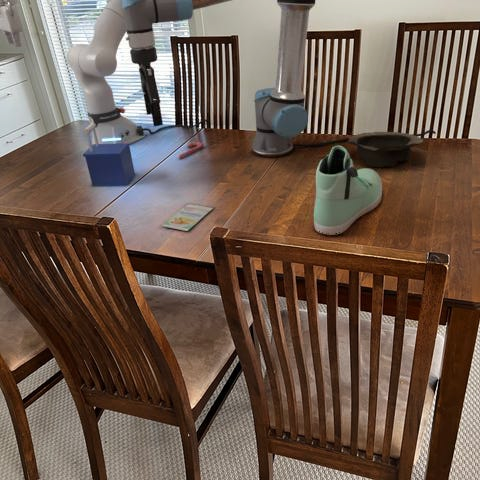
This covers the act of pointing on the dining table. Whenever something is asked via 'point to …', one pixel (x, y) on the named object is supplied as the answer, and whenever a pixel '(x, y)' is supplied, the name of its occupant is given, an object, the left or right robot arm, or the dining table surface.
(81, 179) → the dining table surface
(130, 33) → the right robot arm
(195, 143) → the candy cane
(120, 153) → the lid
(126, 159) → the chest
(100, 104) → the left robot arm
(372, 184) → the sneaker
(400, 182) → the dining table surface
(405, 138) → the stone bowl
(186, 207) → the baking ingredient package
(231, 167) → the dining table surface
